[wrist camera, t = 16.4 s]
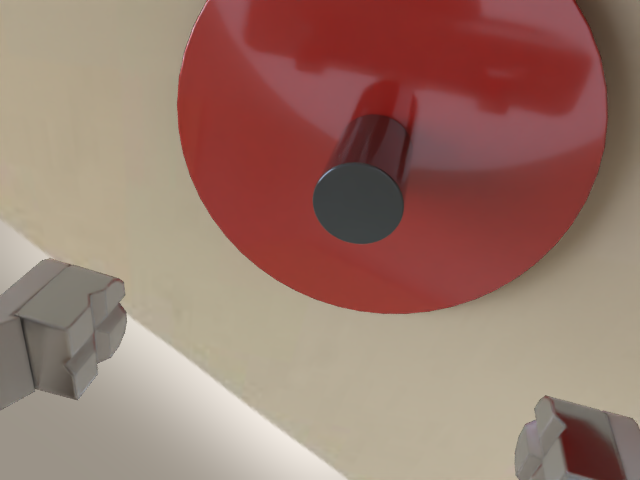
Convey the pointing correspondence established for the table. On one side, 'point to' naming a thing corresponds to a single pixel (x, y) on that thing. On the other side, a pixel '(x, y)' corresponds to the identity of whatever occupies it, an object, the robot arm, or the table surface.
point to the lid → (393, 140)
